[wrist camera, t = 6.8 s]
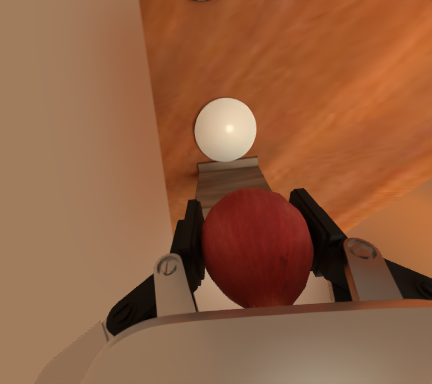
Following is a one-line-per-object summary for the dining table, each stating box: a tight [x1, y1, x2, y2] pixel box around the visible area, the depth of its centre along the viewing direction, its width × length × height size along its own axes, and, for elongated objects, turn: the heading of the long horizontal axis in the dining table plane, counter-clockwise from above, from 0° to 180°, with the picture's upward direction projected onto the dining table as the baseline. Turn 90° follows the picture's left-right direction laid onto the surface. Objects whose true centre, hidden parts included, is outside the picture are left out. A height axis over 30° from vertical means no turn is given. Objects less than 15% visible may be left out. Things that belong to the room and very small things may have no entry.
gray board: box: [195, 156, 272, 217], centre depth 30 cm, size 5×12×13 cm, turn 97°
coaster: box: [195, 98, 256, 162], centre depth 30 cm, size 11×11×1 cm
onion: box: [200, 187, 314, 309], centre depth 9 cm, size 6×6×8 cm
